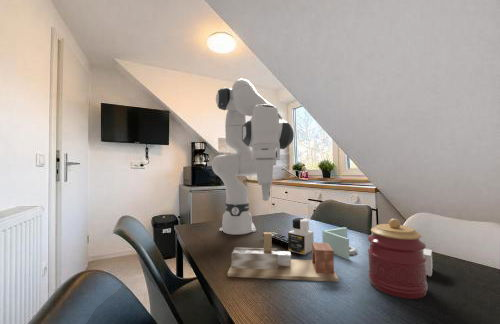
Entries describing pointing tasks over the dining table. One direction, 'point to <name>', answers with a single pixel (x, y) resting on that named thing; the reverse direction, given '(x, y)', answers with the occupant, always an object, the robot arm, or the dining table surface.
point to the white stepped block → (283, 256)
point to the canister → (397, 260)
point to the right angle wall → (338, 242)
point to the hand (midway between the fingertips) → (266, 198)
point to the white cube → (428, 261)
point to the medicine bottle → (300, 237)
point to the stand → (299, 269)
